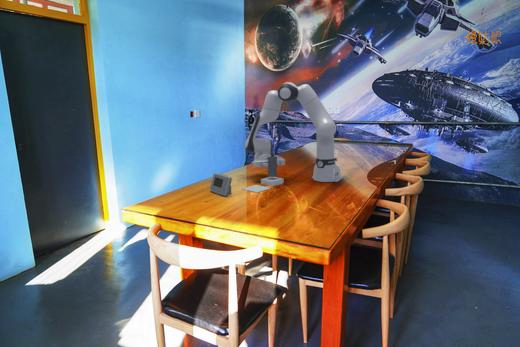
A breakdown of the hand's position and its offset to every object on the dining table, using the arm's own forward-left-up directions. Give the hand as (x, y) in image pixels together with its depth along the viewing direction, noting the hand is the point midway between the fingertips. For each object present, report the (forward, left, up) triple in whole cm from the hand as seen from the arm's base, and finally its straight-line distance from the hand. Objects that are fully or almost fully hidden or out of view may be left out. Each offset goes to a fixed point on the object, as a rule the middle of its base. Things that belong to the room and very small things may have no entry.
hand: (272, 164), depth 216 cm
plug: (0, -1, -7) cm, 7 cm away
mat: (+16, 0, -12) cm, 20 cm away
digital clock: (+35, -9, -12) cm, 38 cm away
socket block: (0, -1, -12) cm, 12 cm away
